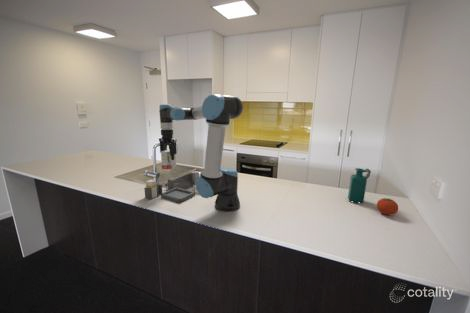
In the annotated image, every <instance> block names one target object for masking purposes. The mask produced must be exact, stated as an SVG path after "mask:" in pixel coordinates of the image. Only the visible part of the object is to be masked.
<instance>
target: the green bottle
mask: <svg viewBox="0 0 470 313" xmlns="http://www.w3.org/2000/svg"><path fill="white" fill-rule="evenodd" d="M354 170H355V171H356V172H355V174H351V175H350V178H349V187H348V193H347V200H348V199H349V200H350V201H353V202H360V203H363V204H364V202H365V196H366V189H367V188H366V187H367V182H368V179H369V177H370V175H371V173H372V171H371V170H370V169H369V168H365V169H364V168H360V167H359V168H358V167H357V168H355V169H354ZM363 173H366V174H365V176H364V174H363ZM349 200H348V201H349ZM350 201H349V202H350Z"/></svg>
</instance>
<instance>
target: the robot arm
mask: <svg viewBox="0 0 470 313" xmlns="http://www.w3.org/2000/svg"><path fill="white" fill-rule="evenodd" d="M158 107H159V110H158V111H159V120H160V121H159V122H160V123H159V125H160V134H161V138H158V141H159V153H160V154H161V151H165V150H170V154H171V155H170V165H174V155H175V156H176V155H177V154H178V153H177V152H178V151H177V139H176V138H174V137H173V135H174V129H173V128H174V127H173V121H177V122H178V121H186V120H188V121H196V120H197V121H198V120H201V119H205V122H206V124H207V125H208V128H207V140H206V148H205V159H204V160H205V161H204V168H203V169H202V170H201V171H200V177H198V178H197V179H196V180H195V184H194V185H195V189H196V192H197V194H198V195H199V196H200V197H201V198H203V199H209V198H213V197H215V196H216V199H215V201H214V207H215V208H216V209H217V210H219V211H224V212H232V211H236V210H238V209H239V208H240V207H241V203H240V201H241V200H240V198H239V196H238V195H239V194H238V182H239V178H238V177H239V176H238V175H239V173H238V171H237V170H236V169H234V168H229V167H222V159H223V152H224V145H225V135H226V128H227V127H228V126H229V125H230V122H231V119H232V120H233V119H236V118H237V119H238V117H240V115H242V113H243V110H244V105H243V102H242V100H241V99H240V98H239V97H238V96H235V95H227V94H219V93H217V94H214V93H213V94H210V95H208V96H206V98H204V100H203V102H202V104H201V106H196V107H195V106H194V107H172V105H171V104H159V106H158Z"/></svg>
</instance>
